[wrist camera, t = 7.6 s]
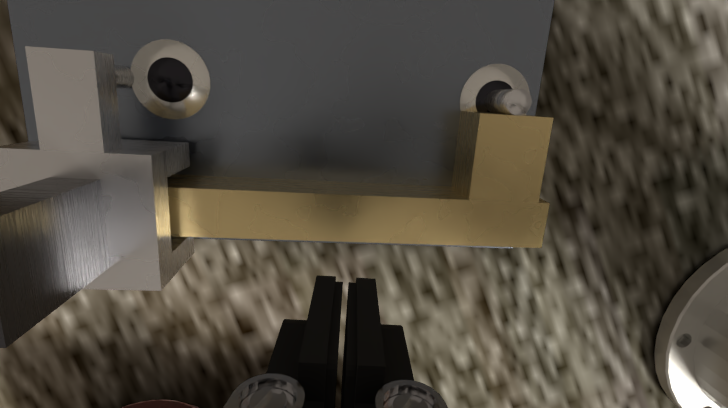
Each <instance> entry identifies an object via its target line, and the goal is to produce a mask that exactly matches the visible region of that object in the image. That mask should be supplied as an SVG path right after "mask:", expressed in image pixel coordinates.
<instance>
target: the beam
mask: <svg viewBox="0 0 728 408" xmlns="http://www.w3.org/2000/svg"><path fill="white" fill-rule="evenodd" d="M531 104H532V98H531V95H530V94H529V92H527V91H526V90H524V89H506V90H493V91H491V92H489V93H488V94H487V96H486V98H485V106H486V108H487V110H488V111H490V112H492V113H489V112H473V111H461V112H460V120H459V128H458V137H457V145H456V153H455V161H454V170H453V178H452V186H451V187H449V186H426V185H404V184H382V183H359V182H337V181H315V180H292V179H270V178H248V177H225V176H203V175H181V174H173V175H171V176H169V177H167V184H168V200H169V215H170V230H171V236H177V237H209V238H241V239H272V240H304V241H336V242H367V243H399V244H431V245H463V246H494V247H526V248H541V247H542V242H543V237H544V231H545V226H546V221H547V215H548V210H549V205H550V203H548V202H546V201H544V200H542V199H540V198H539V196H540V191H541V185H542V180H543V174H544V169H545V163H546V157H547V152H548V146H549V141H550V135H551V130H552V124H553V118H551V117H542V116H532V115H523V114H525V113H526V112H527V111H528V110H529V109H530V107H531Z"/></svg>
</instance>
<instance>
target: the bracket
mask: <svg viewBox="0 0 728 408" xmlns="http://www.w3.org/2000/svg"><path fill="white" fill-rule="evenodd" d="M122 408H198V407H196V406H194V405H189V404H186V403H183V402H179V401H174V400H149V401H143V402H138V403H134V404H130V405H127V406H124V407H122Z"/></svg>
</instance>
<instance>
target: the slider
mask: <svg viewBox="0 0 728 408" xmlns="http://www.w3.org/2000/svg"><path fill="white" fill-rule="evenodd" d="M25 50H26V57H27V64H28V71H29V78H30V85H31V92H32V98H33V105H34V112H35V119H36V126H37V133H38V140H36V141H30V142H23V143H17V144H10V145H4V146H0V348H6V347H8V346H9V345H10V344H12V343H13V342H14V341H15V340H17V339H18V338H19V337H21V336H22V335H23V334H24V333H26V332H27V331H28V330H30V329H31V328H32V327H33V326H35V325H36V324H37V323H39V322H40V321H41V320H42V319H44V318H45V317H46V316H48V315H49V314H50V313H51V312H53V311H54V310H55V309H57V308H58V307H59V306H60V305H62V304H63V303H64V302H66V301H67V300H68V299H69V298H71V297H72V296H73V295H75V294H76V293H77V292H78V291H80V290H81V289H106V290H156V291H161V290H162V289H163V288H164V287H165V286H166V284H167V283H168V282H169V281H170V280H171V279H172V278H173V276H174V275H175V274H176V273H177V272H178V271H179V270H180V268H181V267H182V266H183V265H184V264H185V263H186V262H187V260H188V259H189V258H190V257H191V256H192V255H193V253H194V238H193V237H177V236H171V230H170V215H169V200H168V184H167V177H169V176H171V175H173V174H175V173H177V172H179V171H181V170H183V169H185V168H187V167H189V166H190V158H189V143H186V142H167V141H147V140H128V139H121V130H120V120H119V109H118V98H117V89H126V88H129V87H131V86H132V85H133V83H134V74H133V72H132V71H131V70H130V69H129V68H128V67H126V66H122V65H115V64H114V55H113V54H107V53H102V52H96V51H87V50H73V49H58V48H44V47H30V46H25Z"/></svg>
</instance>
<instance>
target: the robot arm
mask: <svg viewBox="0 0 728 408" xmlns="http://www.w3.org/2000/svg"><path fill="white" fill-rule="evenodd" d="M335 281H336V277H334V276H317V277H316V281H315V286H314V291H313V295H312V300H311V305H310V309H309V314H308V319H307V320H290V319H284V321H283V323H282V326H281V329H280V332H279V335H278V338H277V341H276V345H275V348H274V351H273V354H272V357H271V360H270V363H269V366H268V369H267V372H266V374H263V375H258V376H255V377H252V378H250V379H248V380H246V381H245V382H243V383H241V384H240V385H239V386H238V387H237V388H236V389H235V390H234V392H233V393H232V395H231V396H230V398H229V399H228V401H227V403H226V404H225V406H224V407H223V408H335V393H336V378H337V363H338V347H339V332H340V316H341V301H342V285H343V282H335ZM654 356H655V368H656V373H657V376H658V379H659V382H660V385H661V387H662V388H663V390H664V391H665V393H666V394H667V396H668V398H669V399H670V400H671V401H672V402H674V403H675V404H676V405H677V406H678V407H679V408H728V248H727V249H725V250H723V251H721V252H720V253H718V254H717V255H716V256H714V257H713V258H712V259H710V260H709V261H707V262H706V263H705V264H703V265H702V266H701V267H700V268H699V269H698V270H697V271H696V272H695V273H694V274H693V275H692V276H691V277H690V278H689V279H688V280H686V282H685V283H684V284H683V286H682V287H681V288H680V290H679V291H678V292H677V293H676V295H675V296H674V297H673V299H672V301H671V303H670V304H669V306H668V308H667V310H666V312H665V314H664V316H663V318H662V321H661V324H660V327H659V330H658V333H657V337H656V345H655V352H654ZM341 408H448V407H447V405H446V403H445V401H444V400H443V398H442V397H441V396H440V394H439V393H437V392H436V391H435V390H434V389H433V388H431V387H429V386H427V385H425V384H423V383H420V382H416V381H414V378H413V373H412V369H411V364H410V359H409V355H408V350H407V345H406V341H405V336H404V331H403V327H402V326H401V325H382V324H381V323H380V315H379V306H378V298H377V289H376V281H375V279H368V278H356V283H350V282H349V286H348V300H347V314H346V328H345V342H344V357H343V372H342V393H341Z"/></svg>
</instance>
